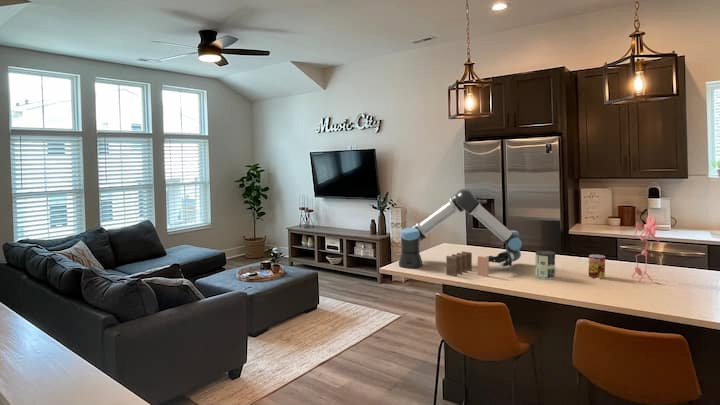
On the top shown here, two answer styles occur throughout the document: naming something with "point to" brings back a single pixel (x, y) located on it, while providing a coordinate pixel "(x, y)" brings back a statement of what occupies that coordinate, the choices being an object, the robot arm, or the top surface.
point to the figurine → (650, 230)
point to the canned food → (596, 266)
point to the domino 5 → (483, 266)
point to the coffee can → (545, 265)
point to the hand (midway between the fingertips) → (488, 263)
